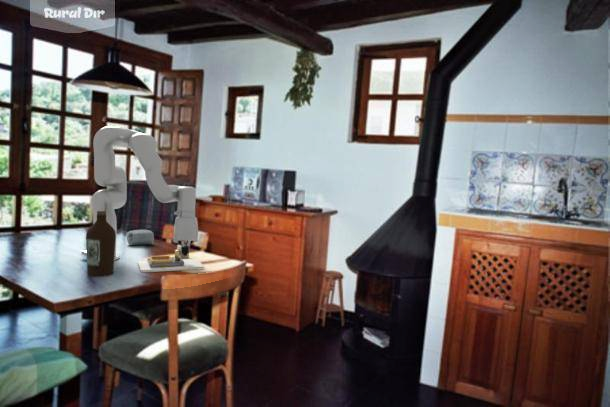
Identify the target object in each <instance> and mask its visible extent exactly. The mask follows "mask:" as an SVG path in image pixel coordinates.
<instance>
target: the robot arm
mask: <svg viewBox="0 0 610 407" xmlns="http://www.w3.org/2000/svg"><path fill="white" fill-rule="evenodd" d="M92 144H93V157H94V158H93V160H94V161H93V165H94V166H93V168H94V169H93V170H94V171H93V175H94V176H93V178H94V182H95V183H96V184H97V185H98V186H101V187H106V188H103V189H98V190H97V191H95V193H93V194H92V197H91V200H90V202H91V207H92V208H91V209H92V219H93V220H92V222H93V223H92V225H93V224H94V223H95V222H96V221H97V211H106V221H107V222H108V223H109V224H110V225H111V226H112V227H113V229H114V230H115V233H116V234H117V215H116V211H115V210H117V209H121V208H122V207H124V206H125V204H126V202H127V200H128V199H127V198H128V197H127V196H128V195H127V194H128V191H127V190H128V187H127V186H128V185H127V184H128V183H127V179H128V178H127V174H126V172H125V170H124V168H122V166H119V165H118V164H117V165H116V154H115V151H114V147H122V148H128V149H131V150H132V152H133V153H134V155H135V157H136V158H137V160H138V162H139V163H140V165H141V167H142V169H143V170H144V175H145V179H146V184H147V186H148V188H149V190H150V191H151V193H152V194H153V196H154V197H155V199H156V200H157V201H159V202H160V203H162V204H166V203H167V204H168V203H173V202H177V210H176V211H174V212H173V215H174V216H176V217H175V219H174V225H173V237H172V238H173V239H172V242H173V243H175V244H178V245H181V246H182V247H181V253H182V254H183V256H185V255H186V256H187V254H188V253H189V254H190V247H191V246H192V244H194V243H196V242H198V240H199V239H198V238H199V226H198V225H199V224H198V218H197V217H196V204H197V203H196V200H197V199H196V196H197V195H196V194H197V190H196V187H193V186H189V185H188V186H181V185H176V184H168V183H167V182H166V181H165V179H164V177H163V174H162V166H163V160H162V159H161V157H160V156H159V154H158V152H157V148H158V142H157V140H156V138H155V137H154V136H153V135H150V134H147V133H143V132H139V131H137V130H133V129H131V128H130V129H129V128H125V127H119V126H115V125H113V126H112V125H108V126H104V127H102V128H100V129H99V130H97V131H96V133H95V135H94V137H93V143H92ZM185 241H186V244H185ZM185 245H186V246H185ZM81 255H84V256H87V249H86V250H84V249H83V250H81ZM119 259H120V255H119V254H117V240H116V241H115V254H114V261H116V260H119Z"/></svg>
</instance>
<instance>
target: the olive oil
mask: <svg viewBox="0 0 610 407" xmlns="http://www.w3.org/2000/svg"><path fill="white" fill-rule="evenodd" d="M85 241H86V242H85V243H86V251H87V255H86V264H87V265H86V266H87V267H86V268H87V269H86V270H87V273H86V274H87V275H88V276H90V277H107V276H111V275H113V273H114V272H115V271H114V270H115V260H114V254H115V241H116V242H117V232H116V233H115V230H114V229H113V227H112V226H111V225H110V224H109V223H108V222H107V221H106V211H97V221H96V222H95V223H94V224H93V223H92V225H91V226H89V228H88V229H87V231H86V235H85Z"/></svg>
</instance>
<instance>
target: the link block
mask: <svg viewBox="0 0 610 407" xmlns="http://www.w3.org/2000/svg"><path fill="white" fill-rule="evenodd" d="M184 245H185V246H186V244H184ZM181 247H182V246H181V245H180V244H177V247H176V250H181ZM180 258H181V259H190V252H189V253H188V254H187V256H186V255H185V256H183V254H182V253H181V252H180Z"/></svg>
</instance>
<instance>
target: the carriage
mask: <svg viewBox="0 0 610 407" xmlns="http://www.w3.org/2000/svg"><path fill="white" fill-rule="evenodd" d="M180 252H181V250H177V249H175V250H174V257H173V256H170V255H155V256H154V255H153V256H149V257H148V258H147V260H146V261H147V262H148V264H149V266H150V267H163V266H182V265H184V261H183V260H182V259H181V258H180Z"/></svg>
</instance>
